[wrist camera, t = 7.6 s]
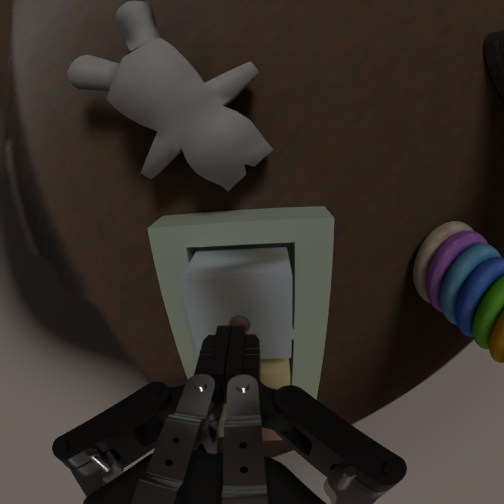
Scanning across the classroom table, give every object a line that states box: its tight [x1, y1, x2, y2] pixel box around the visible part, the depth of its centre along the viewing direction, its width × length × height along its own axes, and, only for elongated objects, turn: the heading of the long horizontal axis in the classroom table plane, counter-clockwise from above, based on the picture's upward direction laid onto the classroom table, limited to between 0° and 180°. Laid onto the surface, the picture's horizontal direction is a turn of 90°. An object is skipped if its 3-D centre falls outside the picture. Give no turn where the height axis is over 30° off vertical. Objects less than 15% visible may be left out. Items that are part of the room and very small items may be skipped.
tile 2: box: [222, 358, 290, 421], centre depth 20 cm, size 6×6×4 cm
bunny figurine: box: [67, 1, 273, 191], centre depth 14 cm, size 10×5×15 cm
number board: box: [147, 206, 334, 437], centre depth 23 cm, size 12×26×3 cm, turn 4°
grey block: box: [180, 247, 292, 359], centre depth 17 cm, size 6×6×4 cm
